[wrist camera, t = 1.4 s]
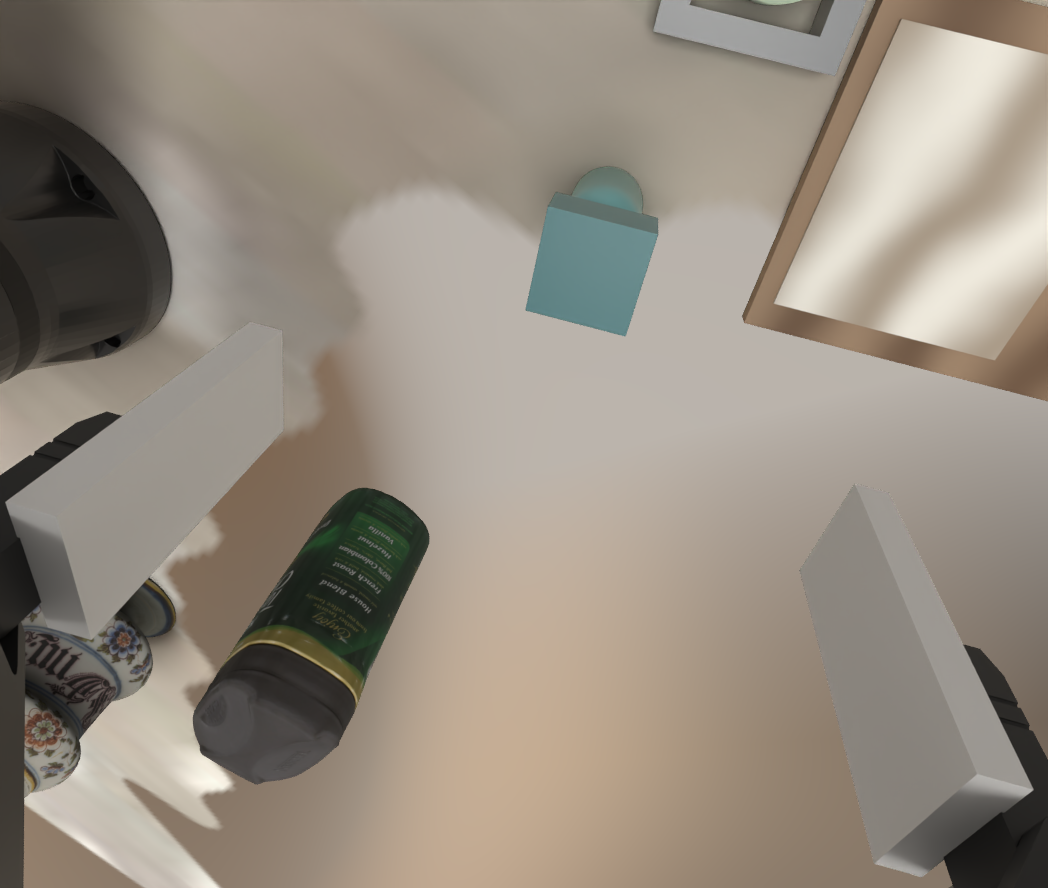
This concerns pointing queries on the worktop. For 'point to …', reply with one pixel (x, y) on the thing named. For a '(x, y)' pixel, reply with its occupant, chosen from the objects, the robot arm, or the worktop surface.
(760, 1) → the button
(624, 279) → the teal square-headed peg
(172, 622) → the apothecary jar
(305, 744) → the coffee jar
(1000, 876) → the robot arm
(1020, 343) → the clipboard
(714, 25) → the button housing
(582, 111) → the worktop surface
